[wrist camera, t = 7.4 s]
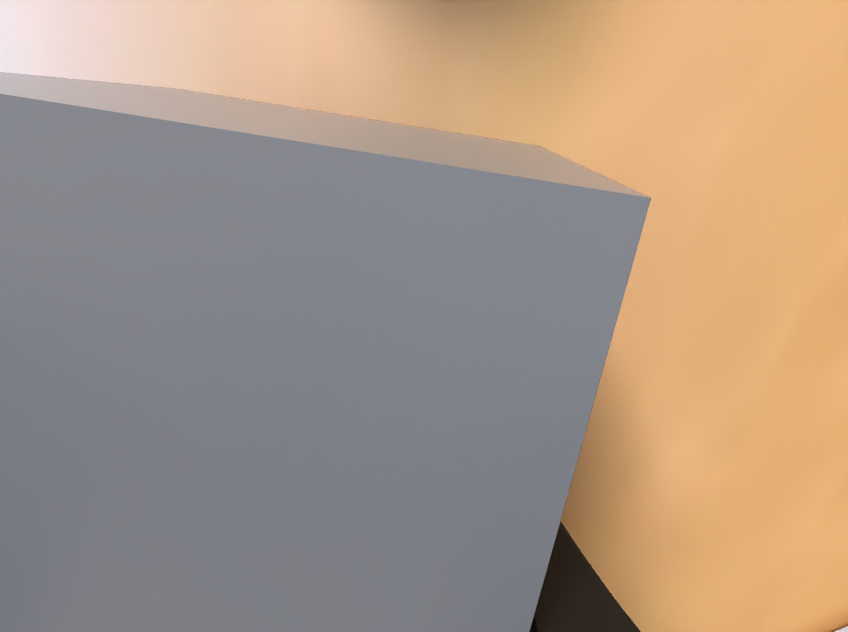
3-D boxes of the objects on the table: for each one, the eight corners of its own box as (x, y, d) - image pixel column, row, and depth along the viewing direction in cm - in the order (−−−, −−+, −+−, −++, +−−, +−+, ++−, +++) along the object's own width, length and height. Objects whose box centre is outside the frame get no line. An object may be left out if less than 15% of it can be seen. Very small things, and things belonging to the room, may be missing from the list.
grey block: (433, 654, 13) (399, 1095, 7) (176, 605, 13) (-62, 997, 7) (539, 146, 9) (651, 197, 3) (177, 88, 9) (-318, 42, 3)
